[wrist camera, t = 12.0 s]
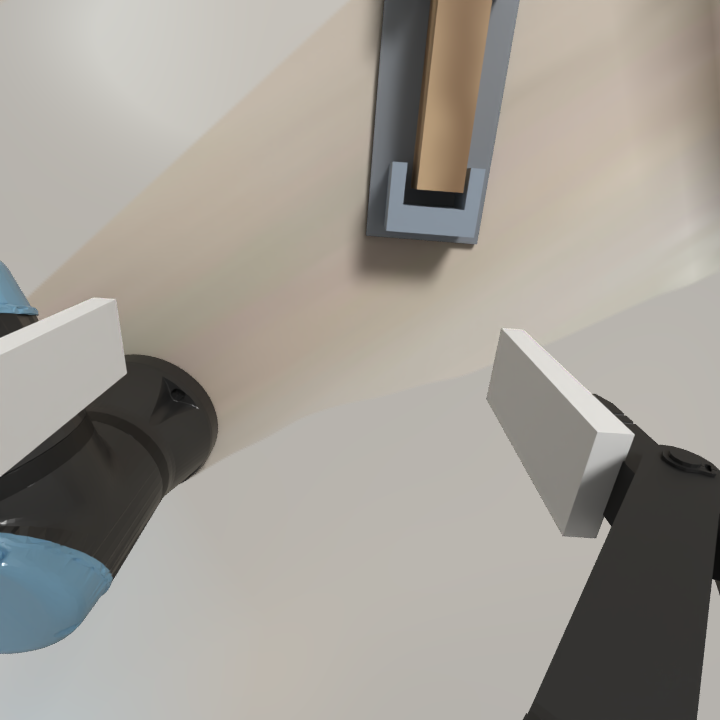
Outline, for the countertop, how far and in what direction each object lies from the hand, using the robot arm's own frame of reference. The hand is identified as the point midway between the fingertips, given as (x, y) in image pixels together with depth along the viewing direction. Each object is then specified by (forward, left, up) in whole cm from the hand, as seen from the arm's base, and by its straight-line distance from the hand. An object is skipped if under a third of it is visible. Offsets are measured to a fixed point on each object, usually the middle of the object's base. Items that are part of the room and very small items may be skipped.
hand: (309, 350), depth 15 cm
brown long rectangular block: (+7, +13, -26) cm, 30 cm away
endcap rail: (+7, +13, -27) cm, 31 cm away
